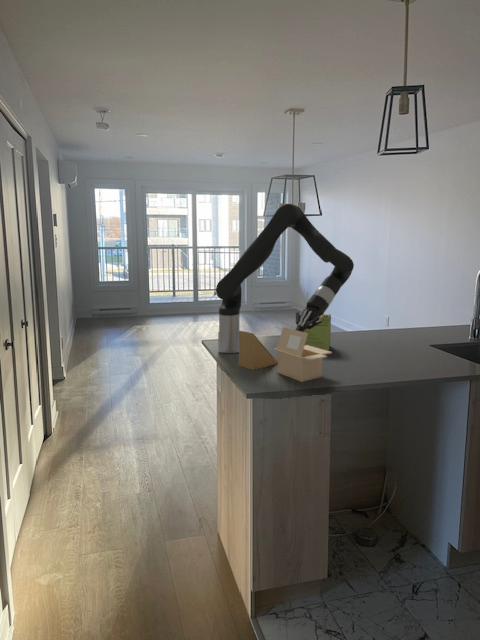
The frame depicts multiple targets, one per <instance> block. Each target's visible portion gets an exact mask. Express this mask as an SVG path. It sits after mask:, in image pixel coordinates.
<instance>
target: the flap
mask: <svg viewBox="0 0 480 640" xmlns="http://www.w3.org/2000/svg"><path fill="white" fill-rule="evenodd" d="M307 335H308V333H305V332H301V331H297V330H296V329H292V328H289V327H284V326H283V327H282V329H281V332H280V336H279V340H278V342H277V343H278V344H277V347H276V348H277V350H280V351H283V352H286V353H289V354H292V355H295V356H299V357H301V356H302V353H303V349H304V346H305V342H306V339H307ZM277 350H276V351H277Z"/></svg>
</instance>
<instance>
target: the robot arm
mask: <svg viewBox="0 0 480 640" xmlns="http://www.w3.org/2000/svg"><path fill="white" fill-rule="evenodd" d="M288 228H292V229H293V230H294V231H295V232H296V233H298V234H299V235H301V237H303V239H304V241H306V243H307V245H308V246H309V248H310V249H311V250H312V251H313V253H314V254H316V255H317V256H318V257H319V259H320V260H321V261H322V262H324V263H325V264H327V263H330V264H332V265H333V269H332V271H331V272H330V274H329V275H328V276H326V277H325V278H324V280H323V281H322V282H321V284H320V285H319V287H317V288H316V290H315V291H314V292H313V294H312V295H311V296H310V298H309V299H308V300H307V302H306V306H305V308H304V309H303V310H302V312H298V311H297V312H296V313H295V323H296V328H295V330H297V331H301V332H303V331H304V330H306V329H311V328H313V327H315V326H316V325H318V324H320V323H321V322H322V320H321V319H320V316H321V315H323V314H325V313H326V311H327V310H328V309H329V306H331V304H332V303H333V301H334V299H335V297H336V295H337V294H339V293H338V292H339V291H340V289H341V288H342V287H343V286H344V284H345V283H346V282H347V281H348V279H349V278H350V277H351V275H352V272H353V270H354V266H355V265H354V261H353V260H352V259H351V257H350V256H349V255H348V254H346V253H344V252H343V251H341V250H339V249H337V248H336V247H335V246H334V245H333V243H331V242H330V240H328V239H327V238H326V237H325V236H324V235H323V234H322V233H321V232H320V231H319V230H318V229H317V228H316V227H315V225H314V224H312V223H311V221H310V220H309V218H308V217H307V216H306V214H305V213H304V211H303V210H302V208H301V207H299V206H298V205H295V204H293V203H289V202H288V203H283V204H281V205H280V206H279V207H278V208H277V210H275V212H274V214H273V215H272V218H270V221H268V223H267V224H266V226H265V227H264V229H262V231H261V232H260V233H259V234H258V236H257V237H256V238H255V240H254V241H252V243H251V244H250V245H249V247H247V249H246V250H245V251H244V252H243V254H242V255H241V256H240V258H239V259H238V261H237V262H236V263H235V265H234V266H233V267H232V268H231V270H229V271H228V273H226V274H225V276H224V277H222V278H221V280H220V281H218V282H217V284H216V286H215V287H216V288H215V294H216V295H217V297H218V298H219V299H220V300H222V302H221V304H220V306H219V308H218V323H219V324H218V335H217V337H218V338H217V340H218V342H217V344H218V353H222V354H236V353H237V354H238V353H239V331H241V330H240V323H241V322H240V320H241V319H240V317H241V316H240V313H241V312H240V311H241V307H242V294H243V293H242V292H243V291H242V284H243V282H244V281H245V280H246V279H247V278H248V277H250V276H251V275H252V274H253V273H254V272H257V270H258V269H260V268H261V267H262V266H263V265H264V263H265V262H267V260H268V259H269V257H270V256H271V254H272V252H273V251H274V248H275V245H276V243H277V241H278V239H279V238H280V237H281V235H282V234H283V233H284V232H285V231H286V230H287V229H288ZM311 324H312V325H311ZM297 325H298V327H297Z"/></svg>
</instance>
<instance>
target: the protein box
mask: <svg viewBox="0 0 480 640" xmlns="http://www.w3.org/2000/svg"><path fill="white" fill-rule="evenodd" d="M320 319H321V320H322V322H321V323H320V324H318V325H316V326H315V327H313V328H311V329H306V330H304V331H303V332H305V333H308V335H307V339H306V342H305V345H309V346H312V347H316V348H319V349H323V350H326V351H330V347H331V346H330V345H331V327H332V325H331V324H332V323H331V322H332V321H331V320H332V314H331V313H324V314H323V315H321V316H320ZM311 325H312V324H311ZM297 327H298V325H297V324H296V328H297Z"/></svg>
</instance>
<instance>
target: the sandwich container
mask: <svg viewBox="0 0 480 640" xmlns="http://www.w3.org/2000/svg"><path fill="white" fill-rule="evenodd" d="M238 354H239V355H238V365H239V367H241V366H242V368H244V367H246V368H245V369H247V368H249V369H248V370H251V369H252V370H251V371H255V370H254V369H256V370H259V369H258V368H260V369H262V367H264V368H267V367H270V365H271V366H274V365H278V364H277V363H278V360H276V358H275V357H274V356H273V355H272V353H270V352H269V350H268V349H267V348H266V347H265V345H263V343H262V342H261V341H260V340H259V338H258V337H257V336H256V335H255V334H254V333H253V332H249V331H244V330H240V331H239V352H238ZM273 364H274V365H273ZM266 366H267V367H266Z"/></svg>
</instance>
